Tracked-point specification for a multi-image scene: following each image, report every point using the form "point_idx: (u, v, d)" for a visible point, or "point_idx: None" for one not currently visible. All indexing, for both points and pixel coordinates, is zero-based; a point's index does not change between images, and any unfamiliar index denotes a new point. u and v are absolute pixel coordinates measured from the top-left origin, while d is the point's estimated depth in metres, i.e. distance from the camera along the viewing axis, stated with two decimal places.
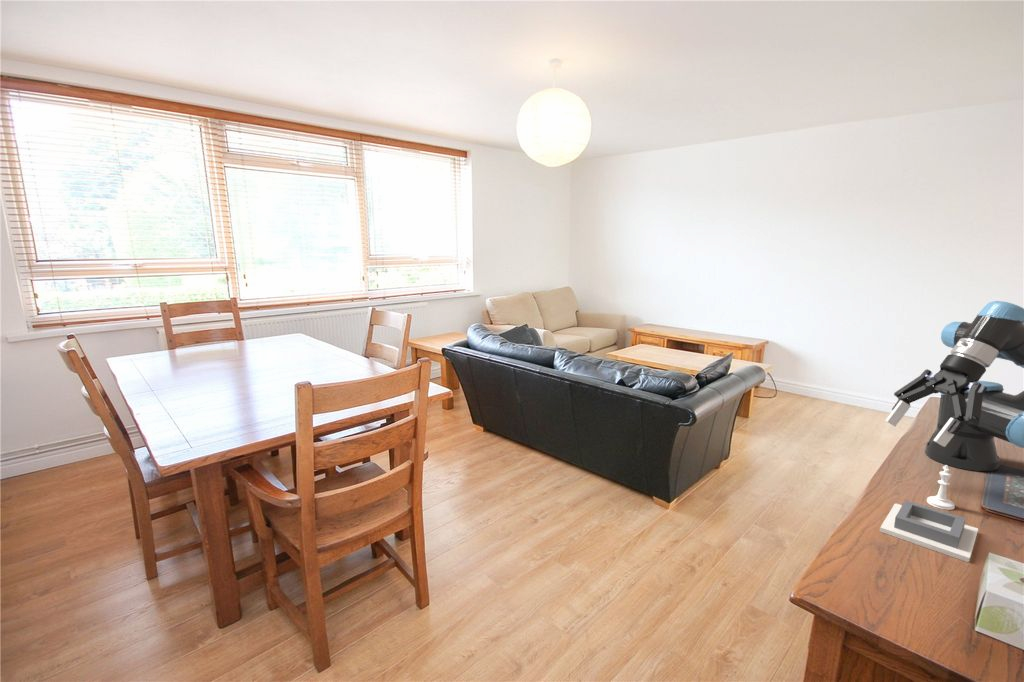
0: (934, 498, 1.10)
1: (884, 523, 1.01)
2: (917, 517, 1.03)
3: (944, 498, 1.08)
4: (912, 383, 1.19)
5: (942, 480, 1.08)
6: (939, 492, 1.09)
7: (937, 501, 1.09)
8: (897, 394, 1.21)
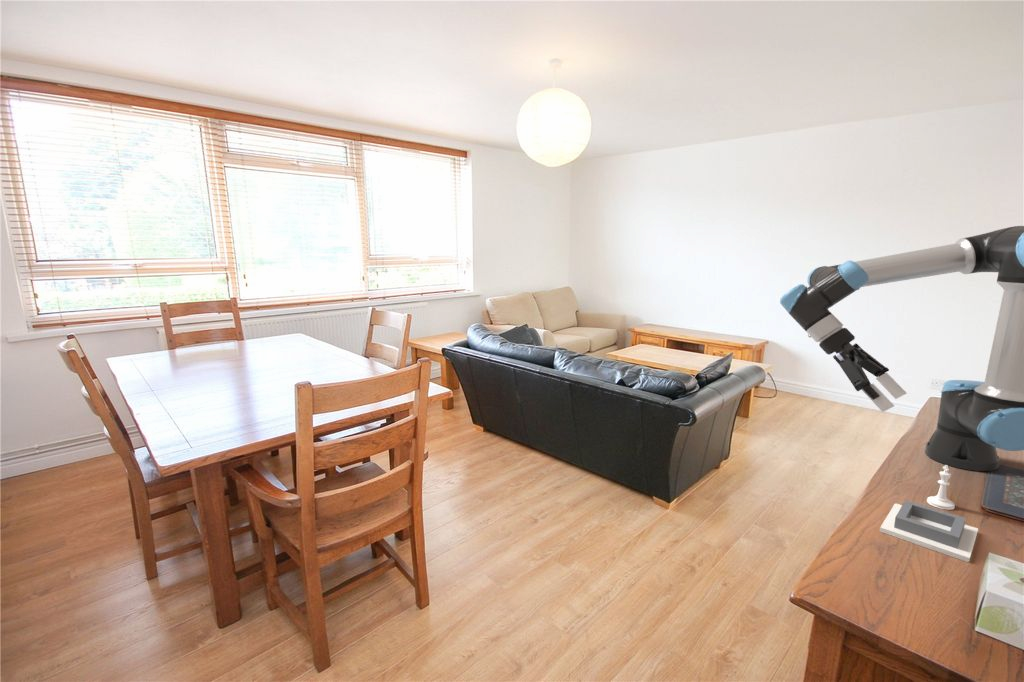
0: (934, 498, 1.10)
1: (884, 523, 1.01)
2: (917, 517, 1.03)
3: (944, 498, 1.08)
4: None
5: (942, 480, 1.08)
6: (939, 492, 1.09)
7: (937, 501, 1.09)
8: None
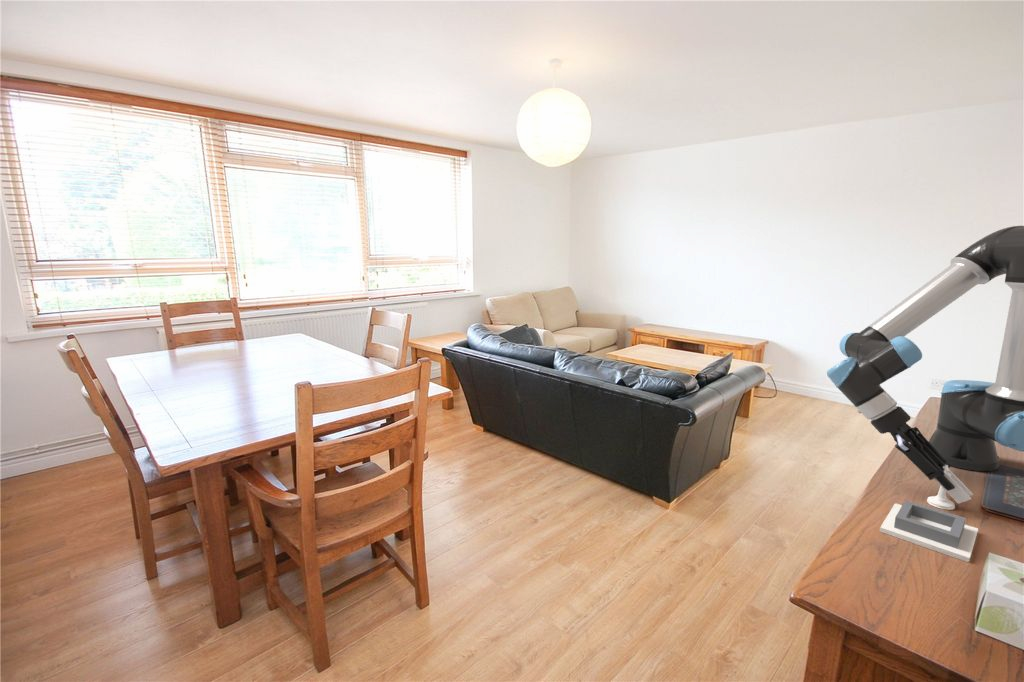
0: (934, 498, 1.10)
1: (884, 523, 1.01)
2: (917, 517, 1.03)
3: (944, 498, 1.08)
4: None
5: None
6: (939, 492, 1.09)
7: (938, 501, 1.09)
8: None
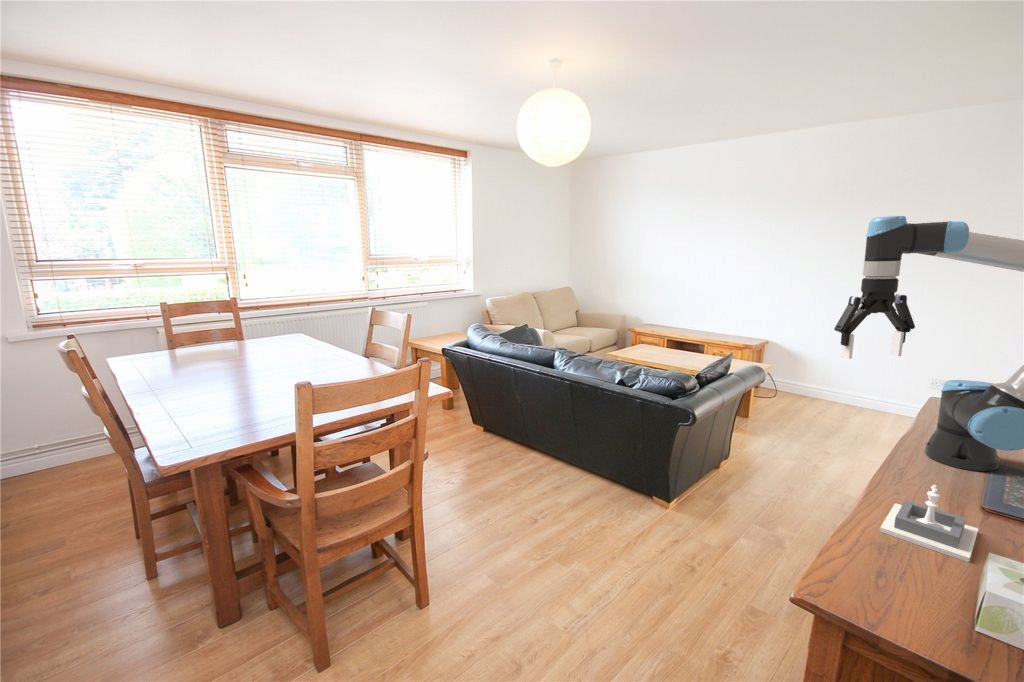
0: (921, 521, 1.00)
1: (884, 523, 1.01)
2: (917, 517, 1.03)
3: (932, 521, 0.98)
4: None
5: (930, 501, 0.98)
6: (927, 514, 0.99)
7: None
8: None
